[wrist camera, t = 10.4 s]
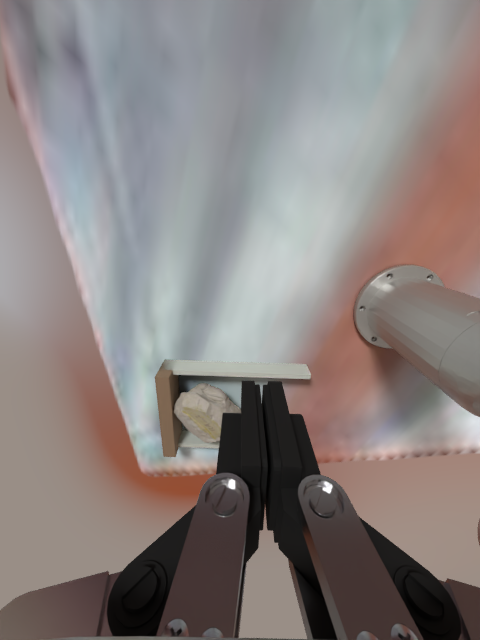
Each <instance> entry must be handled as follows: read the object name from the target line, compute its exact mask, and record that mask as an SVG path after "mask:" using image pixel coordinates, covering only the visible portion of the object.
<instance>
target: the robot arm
mask: <svg viewBox="0 0 480 640" xmlns="http://www.w3.org/2000/svg"><path fill="white" fill-rule="evenodd" d="M387 274H388V276H387ZM360 307H361V308H360ZM354 322H355V325H356V328H357V330H358V331H359V333H360V334H361V335H362V336H363V337H364V338H365V339H366V340H367V341H368V342H370V343H371V344H373V345H376V346H378V347H382V348H392V349H394V350H395V351H396V352H397V353H399V354H400V355H401V356H402V357H403V358H404V359H406V360H407V361H408V362H409V363H410V364H411V365H413V366H414V367H415V368H416V369H417V370H418V371H420V372H421V373H422V374H423V375H424V376H425V377H427V378H428V379H429V380H430V381H431V382H432V383H434V384H435V385H436V386H437V387H438V388H439V389H441V390H442V391H443V392H444V393H445V394H446V395H448V396H449V397H450V398H451V399H453V400H454V401H455V402H456V403H457V404H459V405H460V406H461V407H463V408H464V409H465V410H467V411H469V412H470V413H472V414H474V415H476V416H478V417H480V299H479V298H476V297H473V296H470V295H467V294H464V293H461V292H458V291H455V290H452V289H449V288H446V287H445V286H444V284H443V282H442V281H441V279H440V278H439V277H438V276H437V275H436V274H435V273H434V272H432V271H431V270H429V269H427V268H424V267H421V266H416V265H398V266H394V267H391V268H388V269H386V270H384V271H382V272H380V273H378V274H377V275H376V276H374V277H373V278H372V279H370V280H369V281H368V283H367V284H366V285H365V286H364V287H363V289H362V290H361V291H360V293H359V295H358V297H357V299H356V302H355V306H354ZM265 507H266V519H267V529H268V530H273V533H274V542H275V543H278V545H279V549H280V550H281V551H282V552H283V553H284V555H285V556H286V557H287V558H288V561H289V568H290V572H291V576H292V579H293V584H294V588H295V592H296V596H297V600H298V603H299V608H300V611H301V615H302V619H303V623H304V627H305V631H306V635H307V639H266V638H239V630H240V620H241V611H242V602H243V593H244V584H245V574H246V563H247V561H248V560H249V559H250V558H251V556H252V555H253V554H254V553H255V551H256V550H257V549H258V542H259V530H263V520H264V509H265ZM478 540H479V545H480V520H479V524H478ZM0 640H480V588H479V587H476V586H472V585H469V584H465V583H462V582H459V581H455V580H451V579H447V580H446V582H444V581H440V580H438V579H437V578H435V577H434V576H433V575H432V574H431V573H430V572H429V571H428V570H426V569H425V568H424V567H423V566H422V565H420V564H419V563H418V562H416V561H415V560H414V559H413V558H411V557H410V556H409V555H407V554H406V553H405V552H404V551H402V550H401V549H400V548H398V547H397V546H396V545H394V544H393V543H392V542H390V541H389V540H388V539H387V538H385V537H384V536H383V535H382V534H380V533H379V532H378V531H376V530H375V529H374V528H372V527H371V526H370V525H368V523H366V522H365V521H364V520H362V519H361V518H360V517H358V515H357V513H356V511H355V509H354V507H353V505H352V504H351V501H350V500H349V498H348V496H347V494H346V493H345V491H344V490H343V488H342V487H341V486H340V485H339V484H338V483H337V482H336V481H334V480H332V479H330V478H329V477H326V476H323V475H321V474H320V471H319V468H318V464H317V461H316V458H315V455H314V451H313V448H312V445H311V442H310V438H309V435H308V432H307V429H306V425H305V422H304V419H303V416H302V415H301V414H289V410H288V406H287V402H286V398H285V394H284V390H283V386H282V382H278V381H268V385H263V395H262V403H261V394H260V385H255V381H242V393H241V413H223V415H222V424H221V433H220V443H219V453H218V463H217V472H216V475H214V476H213V477H211V478H209V479H208V480H207V481H206V483H205V484H204V485H203V487H202V489H201V491H200V494H199V498H198V501H197V504H196V506H195V507H194V508H192V509H191V510H190V511H189V512H188V513H187V514H185V515H184V516H183V517H182V518H181V519H180V520H179V521H177V522H176V523H175V524H174V525H173V526H172V527H171V528H169V529H168V530H167V531H166V532H165V533H164V534H163V535H162V536H160V537H159V538H158V539H157V540H156V541H155V542H153V543H152V544H151V545H150V546H149V547H148V548H147V549H146V550H144V551H143V552H142V553H141V554H140V555H139V556H137V557H136V558H135V559H134V560H133V561H132V562H131V563H130V564H128V566H127V567H126V568H125V569H124V570H123V571H121V572H118V573H114V574H110V575H109V572H108V571H106V572H102V573H99V574H95V575H91V576H87V577H84V578H80V579H76V580H72V581H69V582H65V583H61V584H58V585H54V586H50V587H46V588H43V589H39V590H35V591H31V592H28V593H25V594H23V595H21V596H19V597H17V598H15V599H14V600H12V601H11V602H10V603H8V604H7V605H6V606H5V607H3V608H2V609H1V610H0Z"/></svg>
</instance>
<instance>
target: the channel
mask: <svg viewBox="0 0 480 640" xmlns="http://www.w3.org/2000/svg"><path fill="white" fill-rule="evenodd" d="M178 375H200V376H230V377H260V378H290V379H310V377H311V374H310V372H309V369H308V367H307V365H306V364H283V363H253V362H223V361H193V360H164V362H163V364H162V366H161V367H160V369H159V371H158V373H157V375H156V376H155V382H156V391H157V400H158V410H159V419H160V428H161V437H162V446H163V455H164V457H176V454H177V450H178V447H195V448H219V443H220V441H217V442H210V443H206V442H203V441H202V440H201V439H200V438H198V437H197V436H195V435H194V434H192V433H191V432H190V431H189V430H182V422H181V421H180V420H179V419H178V418H177V416H176V414H175V413H174V405H175V403H176V401H177V399H178V398H179V397H180V392H179V378H178Z"/></svg>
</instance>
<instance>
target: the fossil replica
mask: <svg viewBox="0 0 480 640" xmlns="http://www.w3.org/2000/svg"><path fill="white" fill-rule="evenodd" d="M174 413H175V414H176V416H177V418H178V419H179V420H180V421H181V422H182V423H183V424H184V426H185V427H186V428H187V429H188V430H189V431H190V432H191V433H192V434H194V435H195V436H197V437H198V438H200V439H201V440H202V441H203V442H206V443H210V442H217V441H220V433H221V424H222V415H223V413H241V409H240V408H239V407H238V406H236V405H235V404H233V403H232V401H231V400H229V397H227V395H226V394H225V393H224V392H223V391H222V390H221V389H219V388H216V387H214V386H211V385H209V384H207V383H200V384H198V385H197V386H196V387H194V388H192V389H191V390H190V391H189V392H182V393H181V394H180V397H179V398H178V399H177V401H176V403H175V405H174Z"/></svg>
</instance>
